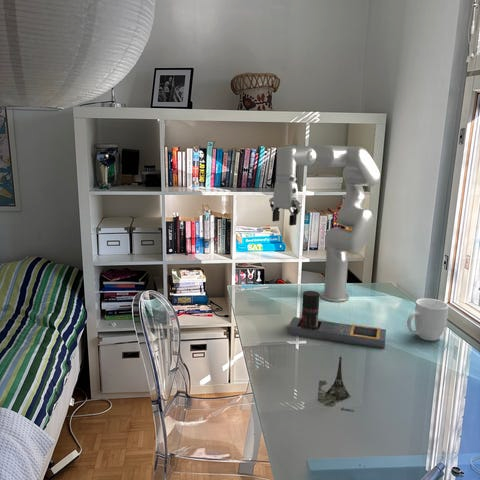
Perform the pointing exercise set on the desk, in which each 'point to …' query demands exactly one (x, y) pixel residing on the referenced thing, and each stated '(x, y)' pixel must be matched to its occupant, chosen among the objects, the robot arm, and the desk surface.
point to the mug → (429, 318)
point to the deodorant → (310, 310)
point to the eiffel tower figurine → (333, 391)
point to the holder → (340, 333)
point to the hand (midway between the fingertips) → (284, 223)
